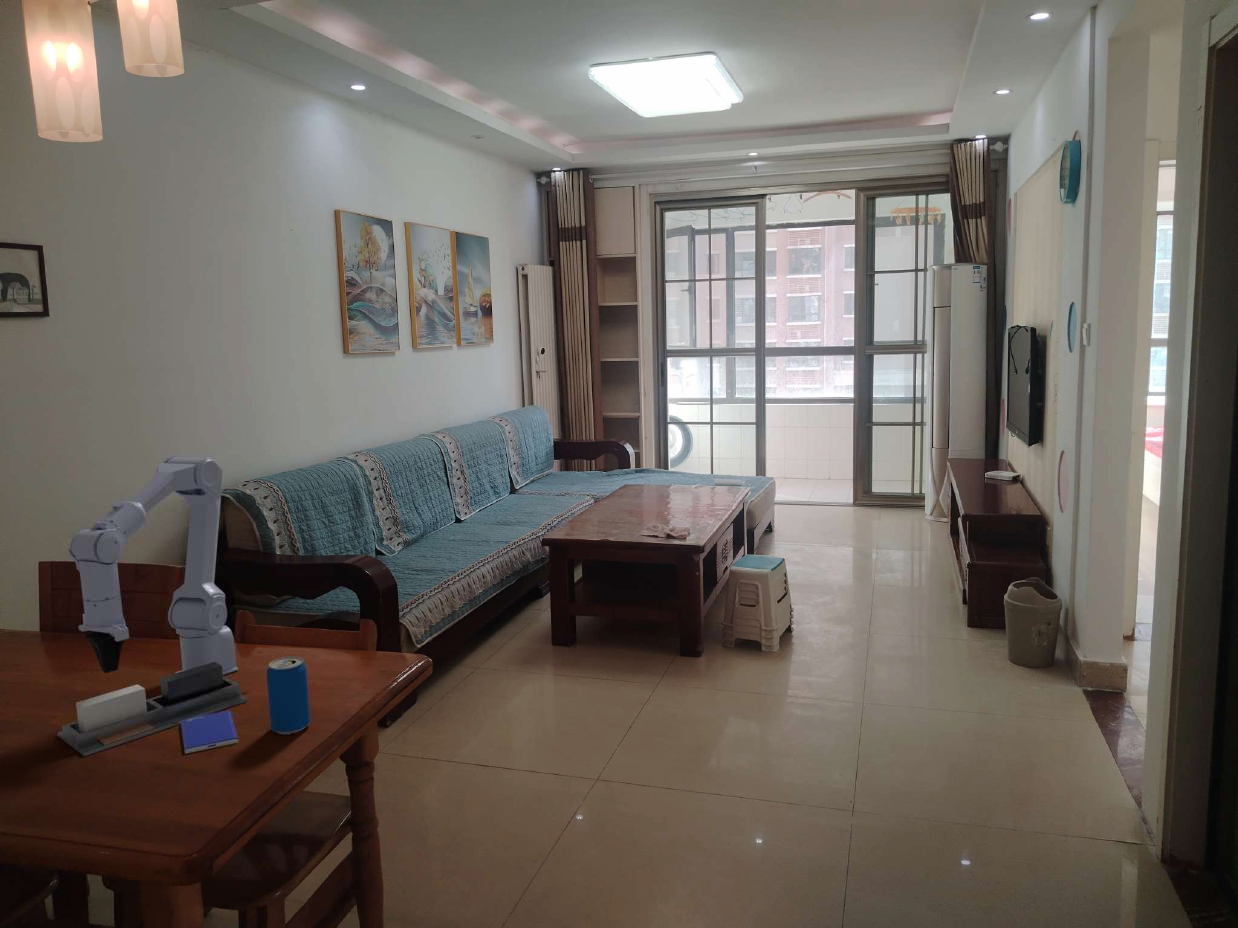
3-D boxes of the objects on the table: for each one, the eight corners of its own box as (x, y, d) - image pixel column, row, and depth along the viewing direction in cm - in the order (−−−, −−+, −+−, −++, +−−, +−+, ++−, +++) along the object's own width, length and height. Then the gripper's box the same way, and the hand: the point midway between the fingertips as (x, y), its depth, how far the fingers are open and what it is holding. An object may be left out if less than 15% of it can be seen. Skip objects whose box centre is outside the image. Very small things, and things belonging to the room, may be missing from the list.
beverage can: (318, 722, 160) (313, 657, 158) (294, 738, 154) (289, 671, 152) (288, 718, 162) (283, 653, 160) (262, 733, 156) (257, 666, 154)
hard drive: (180, 719, 160) (184, 748, 149) (230, 709, 163) (238, 736, 153) (181, 728, 160) (185, 757, 149) (231, 717, 164) (238, 745, 153)
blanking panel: (140, 716, 162) (137, 684, 161) (148, 720, 160) (144, 688, 159) (79, 735, 155) (76, 702, 154) (86, 740, 153) (82, 707, 152)
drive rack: (217, 685, 177) (214, 653, 176) (247, 701, 169) (245, 667, 168) (57, 735, 156) (53, 699, 155) (84, 756, 148) (80, 718, 147)
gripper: (60, 594, 160) (69, 667, 162) (93, 610, 151) (102, 687, 153) (103, 585, 165) (111, 656, 168) (138, 599, 156) (145, 674, 158)
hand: (110, 670), depth 161 cm, fingers closed
